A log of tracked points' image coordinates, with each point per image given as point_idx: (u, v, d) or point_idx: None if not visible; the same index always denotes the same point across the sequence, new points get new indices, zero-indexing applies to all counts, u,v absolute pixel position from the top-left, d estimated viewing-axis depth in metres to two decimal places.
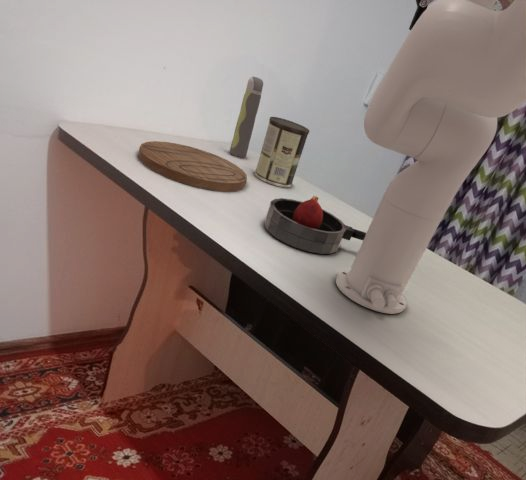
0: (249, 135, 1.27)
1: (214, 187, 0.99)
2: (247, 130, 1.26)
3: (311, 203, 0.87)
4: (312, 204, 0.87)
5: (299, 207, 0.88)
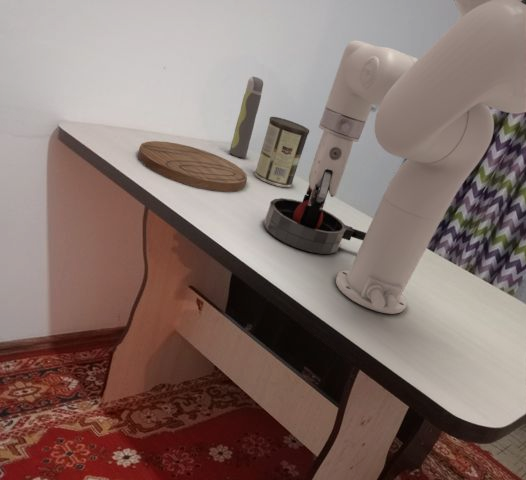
0: (249, 135, 1.27)
1: (214, 187, 0.99)
2: (247, 130, 1.26)
3: None
4: None
5: (299, 207, 0.88)
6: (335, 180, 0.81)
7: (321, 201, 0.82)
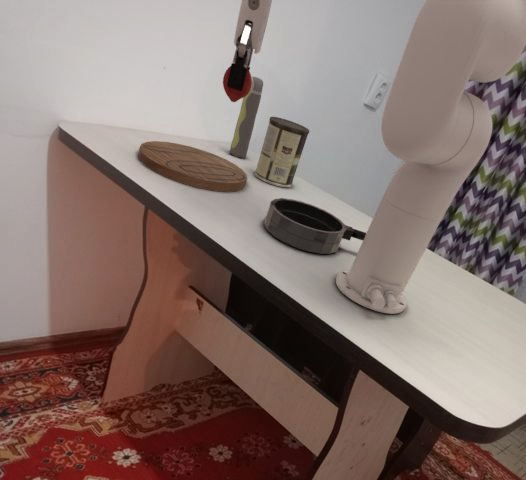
0: (249, 135, 1.27)
1: (214, 187, 0.99)
2: (247, 130, 1.26)
3: None
4: None
5: (227, 69, 0.91)
6: (256, 32, 0.84)
7: (243, 54, 0.85)
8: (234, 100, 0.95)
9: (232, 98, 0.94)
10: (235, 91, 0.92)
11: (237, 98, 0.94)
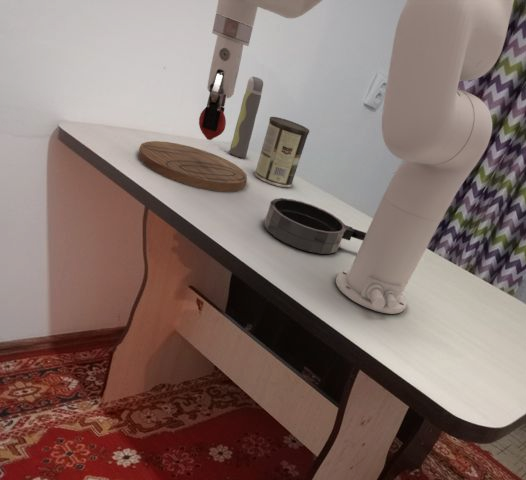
0: (249, 135, 1.27)
1: (214, 187, 0.99)
2: (247, 130, 1.26)
3: None
4: None
5: (203, 111, 0.98)
6: (227, 80, 0.91)
7: (215, 99, 0.92)
8: (210, 138, 1.02)
9: (208, 137, 1.01)
10: (210, 131, 0.99)
11: (212, 137, 1.01)
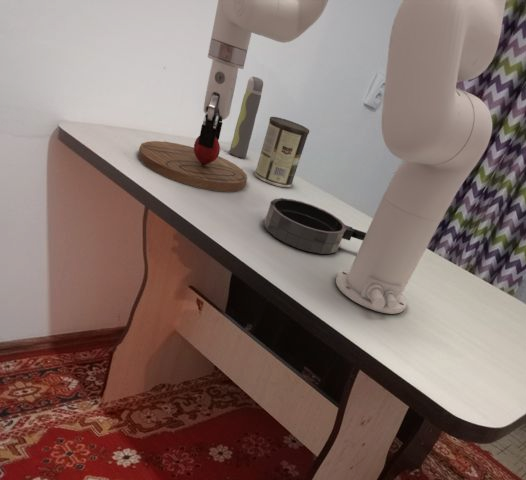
0: (249, 135, 1.27)
1: (214, 187, 0.99)
2: (247, 130, 1.26)
3: None
4: None
5: (197, 138, 1.02)
6: (222, 102, 0.94)
7: (212, 116, 0.92)
8: (204, 164, 1.05)
9: (202, 162, 1.04)
10: (205, 158, 1.02)
11: (207, 162, 1.04)
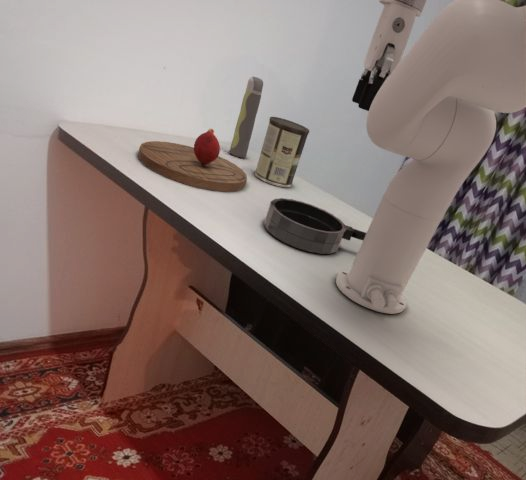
0: (249, 135, 1.27)
1: (214, 187, 0.99)
2: (247, 130, 1.26)
3: (207, 134, 1.01)
4: (208, 135, 1.01)
5: (197, 138, 1.02)
6: (396, 56, 0.79)
7: (386, 71, 0.78)
8: (204, 164, 1.05)
9: (202, 162, 1.04)
10: (205, 158, 1.02)
11: (207, 162, 1.04)
